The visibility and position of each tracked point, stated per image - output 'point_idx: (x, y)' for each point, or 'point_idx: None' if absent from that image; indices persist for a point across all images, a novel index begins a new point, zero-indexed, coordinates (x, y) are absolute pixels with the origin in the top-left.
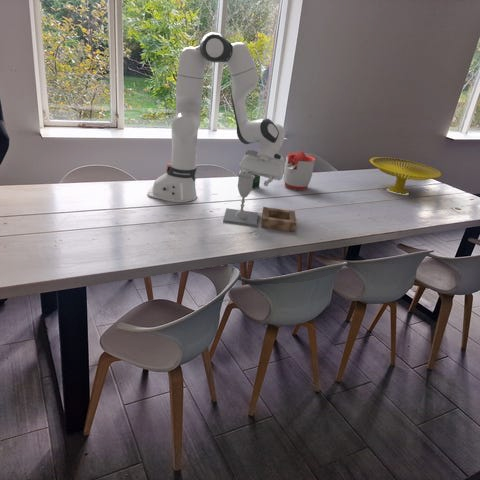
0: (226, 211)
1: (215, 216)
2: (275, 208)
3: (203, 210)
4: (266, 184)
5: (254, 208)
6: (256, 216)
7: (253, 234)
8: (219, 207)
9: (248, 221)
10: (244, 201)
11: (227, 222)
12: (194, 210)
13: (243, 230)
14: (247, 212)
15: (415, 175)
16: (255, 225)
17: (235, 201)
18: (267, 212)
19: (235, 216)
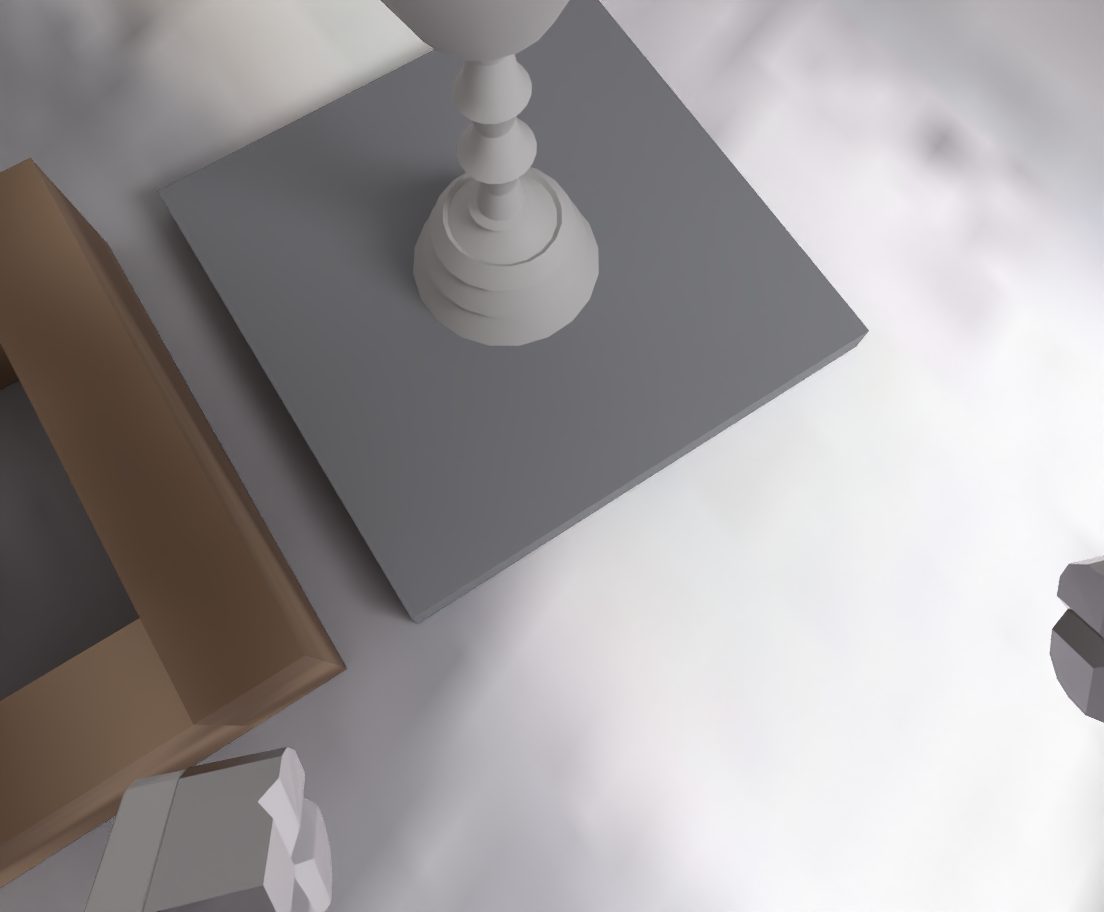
0: (767, 226)
1: (772, 65)
2: (53, 809)
3: (1024, 93)
4: (154, 777)
5: (633, 851)
6: (325, 441)
7: (87, 8)
8: (1004, 356)
9: (307, 186)
10: (455, 85)
11: None
12: (1083, 8)
13: (244, 6)
14: (533, 465)
15: None
16: (180, 193)
17: (1100, 847)
18: (88, 457)
19: None
